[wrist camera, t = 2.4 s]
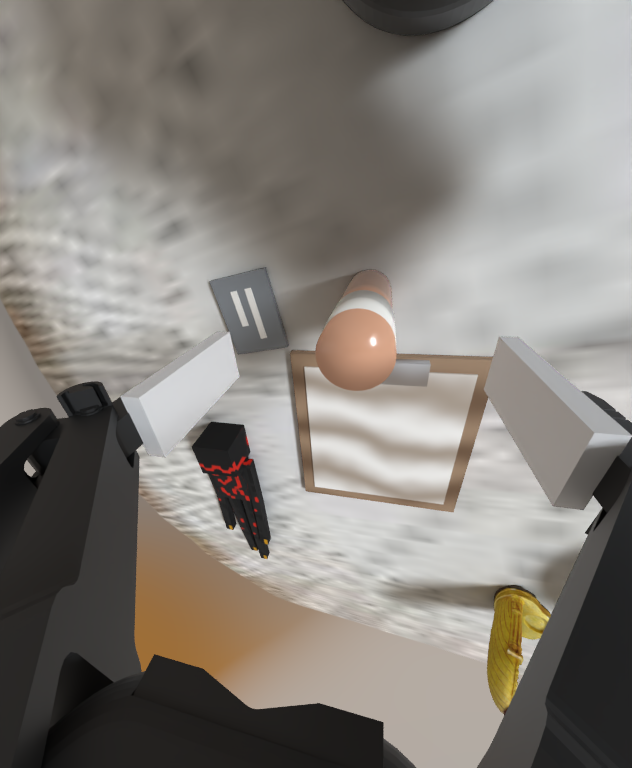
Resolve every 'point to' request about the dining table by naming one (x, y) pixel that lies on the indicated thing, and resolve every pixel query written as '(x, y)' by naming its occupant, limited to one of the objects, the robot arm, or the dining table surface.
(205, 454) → the toy
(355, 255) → the dining table surface
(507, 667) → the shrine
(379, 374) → the pastel stick
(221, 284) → the grey striped tile
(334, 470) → the clipboard
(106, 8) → the dining table surface
